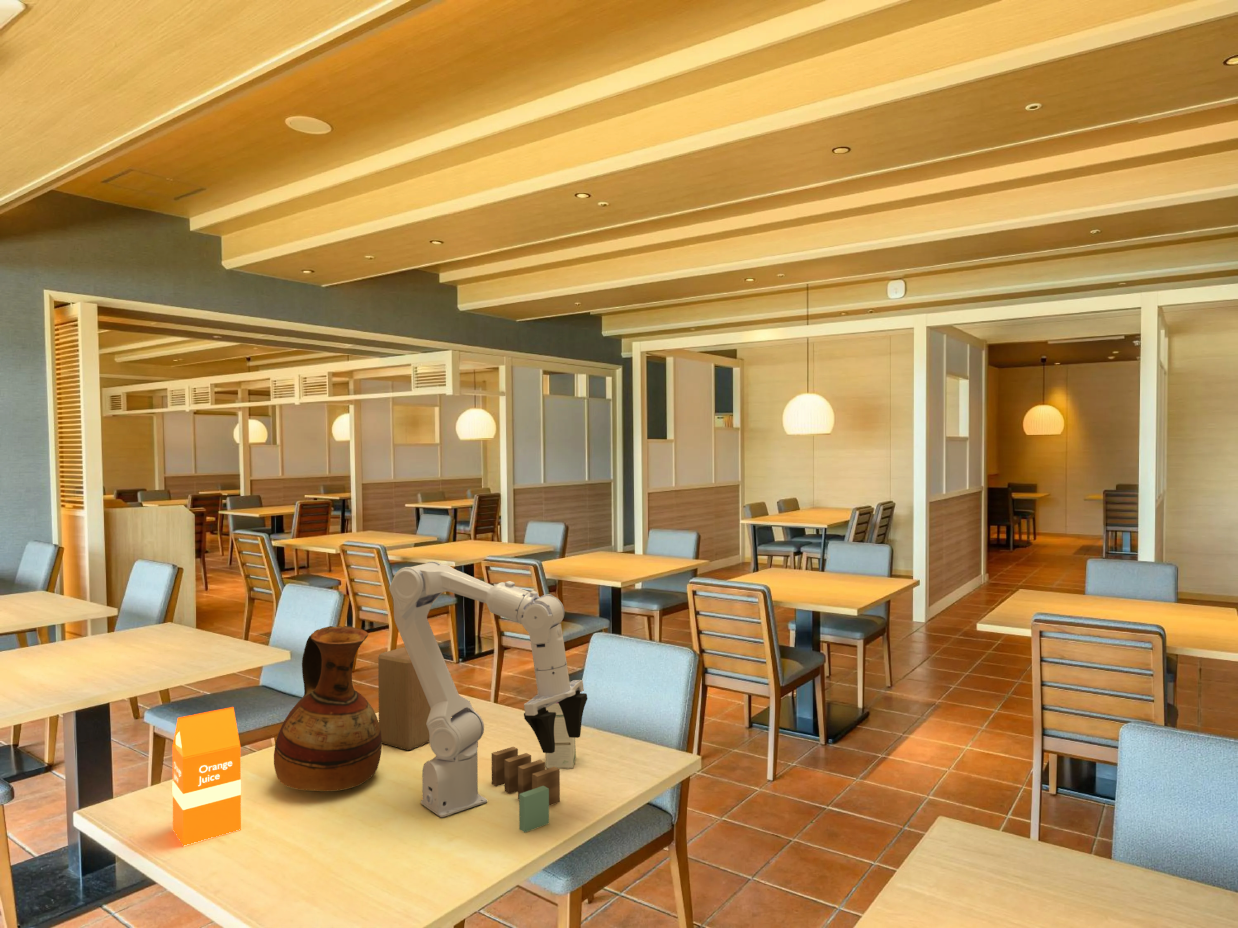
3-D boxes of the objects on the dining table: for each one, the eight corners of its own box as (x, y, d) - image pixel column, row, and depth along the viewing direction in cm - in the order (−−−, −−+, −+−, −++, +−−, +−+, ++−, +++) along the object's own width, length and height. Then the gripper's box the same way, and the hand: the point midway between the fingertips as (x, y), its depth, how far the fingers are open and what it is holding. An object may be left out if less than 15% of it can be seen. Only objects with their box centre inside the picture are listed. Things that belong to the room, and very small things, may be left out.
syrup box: (573, 768, 157) (573, 697, 157) (544, 768, 157) (544, 697, 157) (575, 758, 162) (575, 688, 162) (547, 757, 163) (547, 688, 162)
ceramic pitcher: (311, 813, 137) (310, 644, 137) (252, 785, 149) (252, 630, 149) (402, 777, 153) (402, 625, 153) (343, 754, 165) (342, 614, 165)
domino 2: (509, 793, 145) (509, 761, 145) (504, 791, 146) (504, 759, 146) (531, 786, 148) (531, 755, 148) (526, 783, 150) (526, 752, 150)
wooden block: (442, 738, 175) (441, 649, 175) (408, 752, 166) (408, 658, 166) (411, 730, 180) (410, 643, 180) (376, 743, 171) (376, 653, 171)
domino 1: (496, 786, 148) (496, 755, 148) (491, 783, 150) (491, 752, 150) (518, 779, 152) (517, 748, 152) (513, 776, 153) (513, 746, 153)
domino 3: (523, 801, 142) (522, 768, 142) (518, 798, 143) (517, 766, 143) (545, 793, 145) (545, 761, 145) (540, 791, 146) (540, 759, 146)
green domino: (524, 832, 130) (524, 796, 130) (519, 829, 131) (519, 793, 131) (548, 823, 133) (548, 788, 133) (543, 820, 134) (543, 785, 134)
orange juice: (241, 829, 131) (240, 711, 131) (183, 847, 125) (182, 723, 125) (228, 814, 137) (227, 701, 137) (172, 830, 131) (171, 712, 131)
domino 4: (537, 809, 138) (537, 776, 138) (532, 806, 139) (531, 773, 139) (559, 801, 142) (559, 768, 142) (554, 798, 143) (554, 766, 143)
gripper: (543, 677, 127) (555, 760, 127) (592, 655, 140) (603, 731, 139) (510, 677, 131) (522, 758, 130) (561, 656, 143) (572, 729, 143)
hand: (562, 744), depth 135 cm, fingers open, 7 cm apart
